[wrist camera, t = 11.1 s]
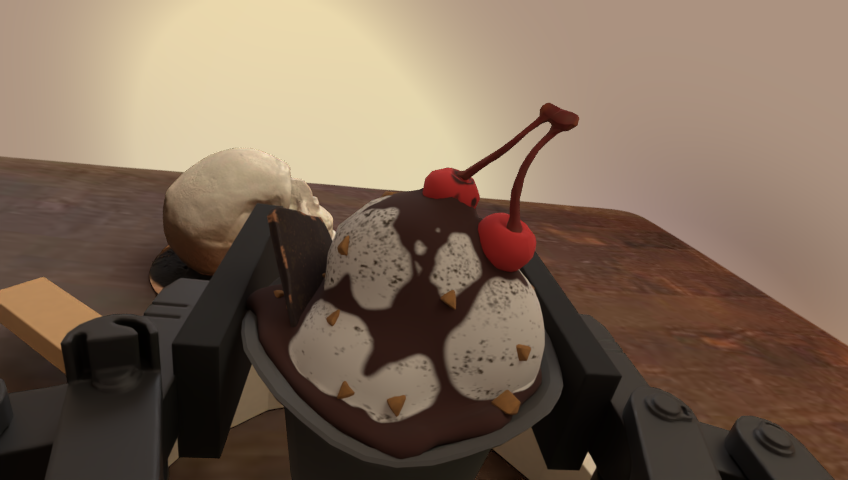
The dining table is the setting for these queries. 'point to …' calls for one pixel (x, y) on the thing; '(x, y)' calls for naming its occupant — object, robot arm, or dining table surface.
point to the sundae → (406, 331)
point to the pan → (60, 313)
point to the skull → (223, 210)
